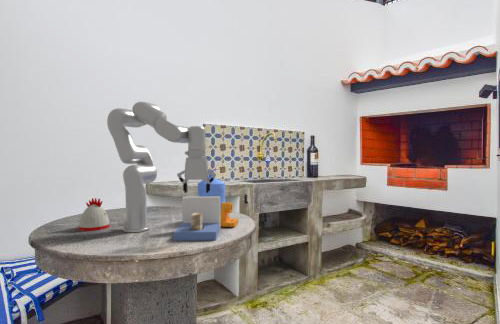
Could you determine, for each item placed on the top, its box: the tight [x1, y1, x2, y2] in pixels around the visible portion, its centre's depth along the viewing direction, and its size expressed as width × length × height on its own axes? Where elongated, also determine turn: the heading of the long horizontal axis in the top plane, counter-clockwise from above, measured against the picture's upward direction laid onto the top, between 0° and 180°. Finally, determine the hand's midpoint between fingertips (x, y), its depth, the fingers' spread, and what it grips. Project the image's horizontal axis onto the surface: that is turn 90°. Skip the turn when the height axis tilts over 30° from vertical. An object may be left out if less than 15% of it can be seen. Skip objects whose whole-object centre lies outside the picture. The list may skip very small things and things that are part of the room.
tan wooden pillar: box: [191, 213, 203, 230], centre depth 138 cm, size 4×6×10 cm, turn 179°
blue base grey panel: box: [172, 196, 221, 242], centre depth 140 cm, size 18×20×16 cm
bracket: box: [220, 201, 239, 228], centre depth 158 cm, size 11×7×12 cm, turn 168°
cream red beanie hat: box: [78, 197, 111, 232], centre depth 155 cm, size 14×14×15 cm
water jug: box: [196, 169, 226, 214], centre depth 173 cm, size 16×16×28 cm
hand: (196, 192), depth 137 cm, fingers open, 9 cm apart
